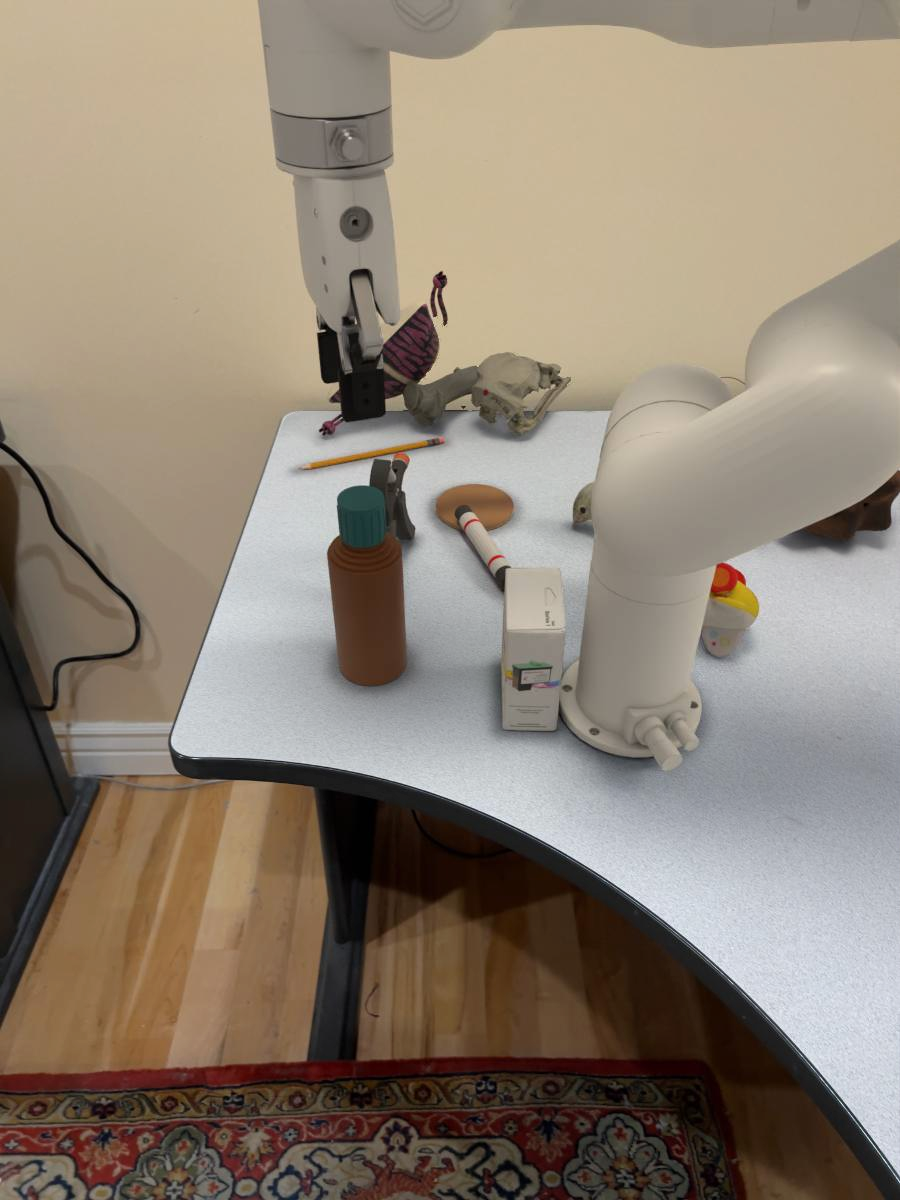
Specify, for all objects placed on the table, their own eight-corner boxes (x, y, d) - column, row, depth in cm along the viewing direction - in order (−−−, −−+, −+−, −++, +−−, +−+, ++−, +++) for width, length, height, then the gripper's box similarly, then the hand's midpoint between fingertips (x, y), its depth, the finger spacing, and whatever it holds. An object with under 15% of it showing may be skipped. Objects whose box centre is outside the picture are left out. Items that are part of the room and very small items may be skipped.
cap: (392, 543, 77) (390, 506, 75) (346, 552, 76) (343, 515, 74) (379, 518, 80) (377, 481, 78) (335, 526, 79) (331, 489, 77)
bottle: (415, 676, 86) (409, 515, 74) (348, 693, 84) (331, 530, 73) (395, 633, 90) (387, 475, 79) (331, 648, 89) (313, 488, 77)
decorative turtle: (947, 467, 96) (898, 430, 102) (819, 488, 92) (775, 449, 98) (917, 543, 102) (872, 505, 108) (795, 566, 99) (756, 525, 105)
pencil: (444, 440, 118) (443, 444, 119) (442, 435, 119) (442, 439, 119) (298, 469, 113) (298, 472, 114) (297, 464, 113) (297, 468, 114)
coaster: (525, 522, 105) (525, 518, 105) (450, 538, 103) (450, 533, 102) (496, 482, 112) (496, 478, 111) (425, 496, 109) (425, 491, 109)
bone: (398, 380, 118) (395, 424, 122) (434, 398, 115) (430, 442, 118) (508, 346, 132) (502, 386, 136) (544, 360, 129) (537, 401, 132)
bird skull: (578, 448, 117) (578, 373, 111) (467, 444, 120) (462, 372, 114) (594, 367, 136) (596, 300, 130) (498, 366, 139) (495, 300, 133)
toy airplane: (746, 666, 93) (612, 609, 99) (782, 585, 92) (644, 533, 98) (722, 662, 81) (572, 597, 87) (763, 569, 80) (609, 510, 87)
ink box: (499, 663, 87) (504, 563, 80) (552, 664, 87) (561, 564, 80) (500, 731, 81) (505, 629, 73) (557, 732, 80) (568, 630, 73)
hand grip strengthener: (417, 537, 103) (414, 415, 93) (391, 608, 93) (384, 481, 84) (397, 535, 103) (392, 413, 94) (369, 605, 94) (360, 479, 84)
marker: (454, 521, 104) (454, 506, 103) (470, 516, 105) (470, 502, 103) (510, 606, 94) (510, 592, 92) (527, 601, 94) (528, 587, 93)
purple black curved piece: (469, 305, 109) (504, 322, 127) (425, 253, 110) (466, 277, 128) (326, 447, 117) (378, 444, 135) (285, 397, 118) (342, 401, 136)
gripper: (432, 167, 53) (436, 444, 65) (356, 104, 66) (370, 345, 77) (303, 180, 51) (330, 463, 63) (250, 112, 64) (281, 358, 75)
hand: (352, 396), depth 70 cm, fingers open, 5 cm apart
